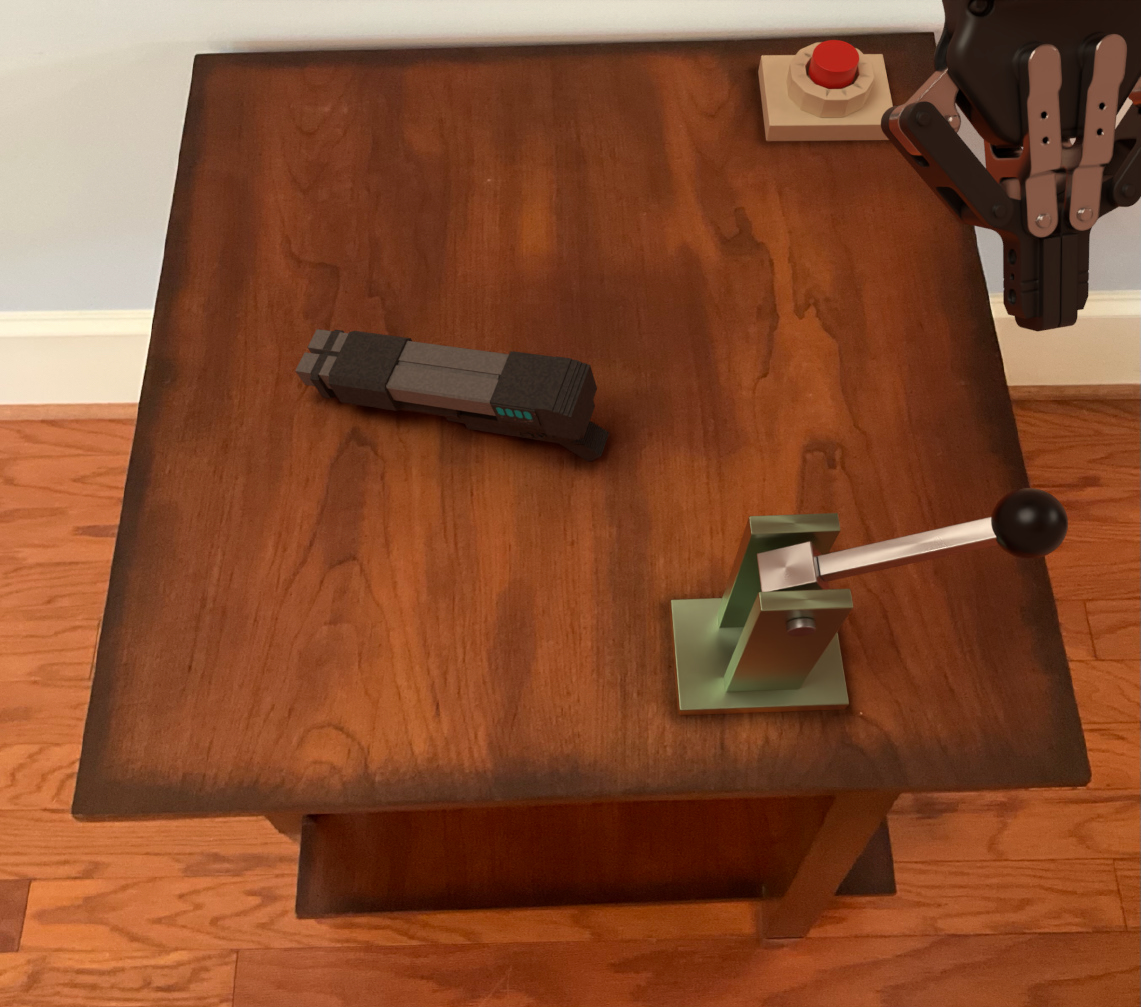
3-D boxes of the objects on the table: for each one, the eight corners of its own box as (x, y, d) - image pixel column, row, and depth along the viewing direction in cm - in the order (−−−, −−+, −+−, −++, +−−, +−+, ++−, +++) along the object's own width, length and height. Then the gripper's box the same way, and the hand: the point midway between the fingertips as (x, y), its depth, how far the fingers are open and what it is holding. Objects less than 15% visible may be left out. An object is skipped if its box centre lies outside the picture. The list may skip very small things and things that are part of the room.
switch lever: (1061, 496, 47) (1054, 468, 44) (1079, 560, 46) (1072, 534, 43) (772, 562, 53) (752, 541, 50) (780, 620, 51) (759, 600, 49)
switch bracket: (827, 600, 64) (891, 492, 50) (845, 709, 60) (917, 625, 47) (668, 605, 63) (690, 499, 50) (677, 715, 60) (703, 633, 47)
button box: (877, 70, 85) (888, 34, 81) (891, 140, 81) (903, 105, 78) (758, 71, 85) (764, 35, 82) (766, 141, 81) (773, 106, 78)
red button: (851, 57, 81) (856, 39, 79) (856, 89, 79) (862, 71, 78) (806, 58, 81) (810, 39, 79) (810, 90, 79) (815, 71, 78)
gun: (604, 479, 67) (551, 389, 59) (363, 457, 76) (289, 376, 68) (623, 424, 69) (574, 329, 61) (386, 408, 78) (316, 323, 70)
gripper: (918, -166, 32) (933, 368, 38) (1306, -217, 33) (1265, 312, 39) (832, -103, 39) (855, 338, 45) (1153, -147, 40) (1137, 291, 46)
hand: (1045, 325), depth 42 cm, fingers closed
